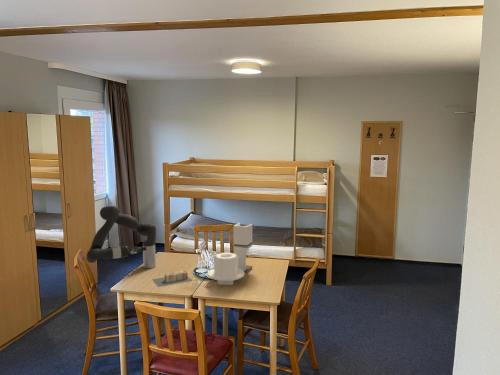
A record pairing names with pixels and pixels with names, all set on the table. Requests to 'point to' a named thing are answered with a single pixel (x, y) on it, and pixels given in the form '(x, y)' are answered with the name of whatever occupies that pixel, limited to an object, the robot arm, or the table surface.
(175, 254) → the table surface
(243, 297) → the table surface
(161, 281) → the rubber mat
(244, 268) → the grey notched tower
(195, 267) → the table surface
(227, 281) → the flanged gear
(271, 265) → the table surface
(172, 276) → the birch block
